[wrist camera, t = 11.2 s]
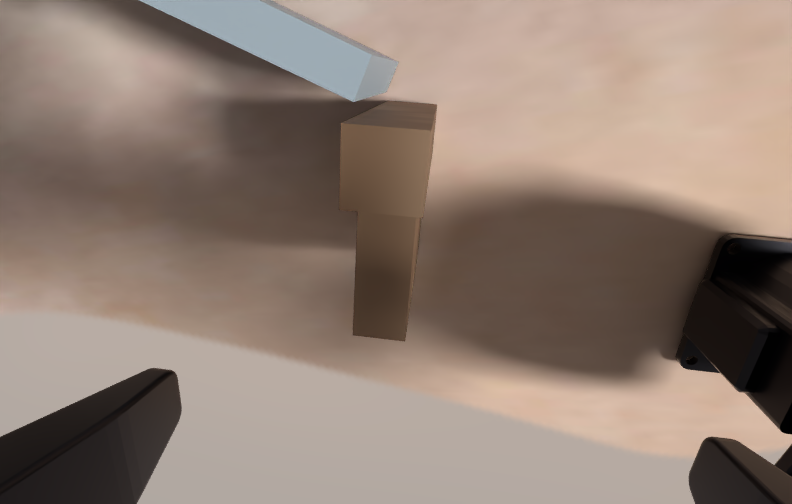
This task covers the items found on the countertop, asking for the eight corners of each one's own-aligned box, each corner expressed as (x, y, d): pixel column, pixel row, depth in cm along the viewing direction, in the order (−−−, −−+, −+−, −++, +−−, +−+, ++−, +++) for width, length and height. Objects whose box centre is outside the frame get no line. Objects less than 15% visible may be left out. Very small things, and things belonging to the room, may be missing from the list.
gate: (398, 62, 17) (371, 54, 11) (372, 125, 18) (334, 152, 12) (104, -81, 17) (-114, -181, 10) (93, -7, 18) (-112, -55, 11)
